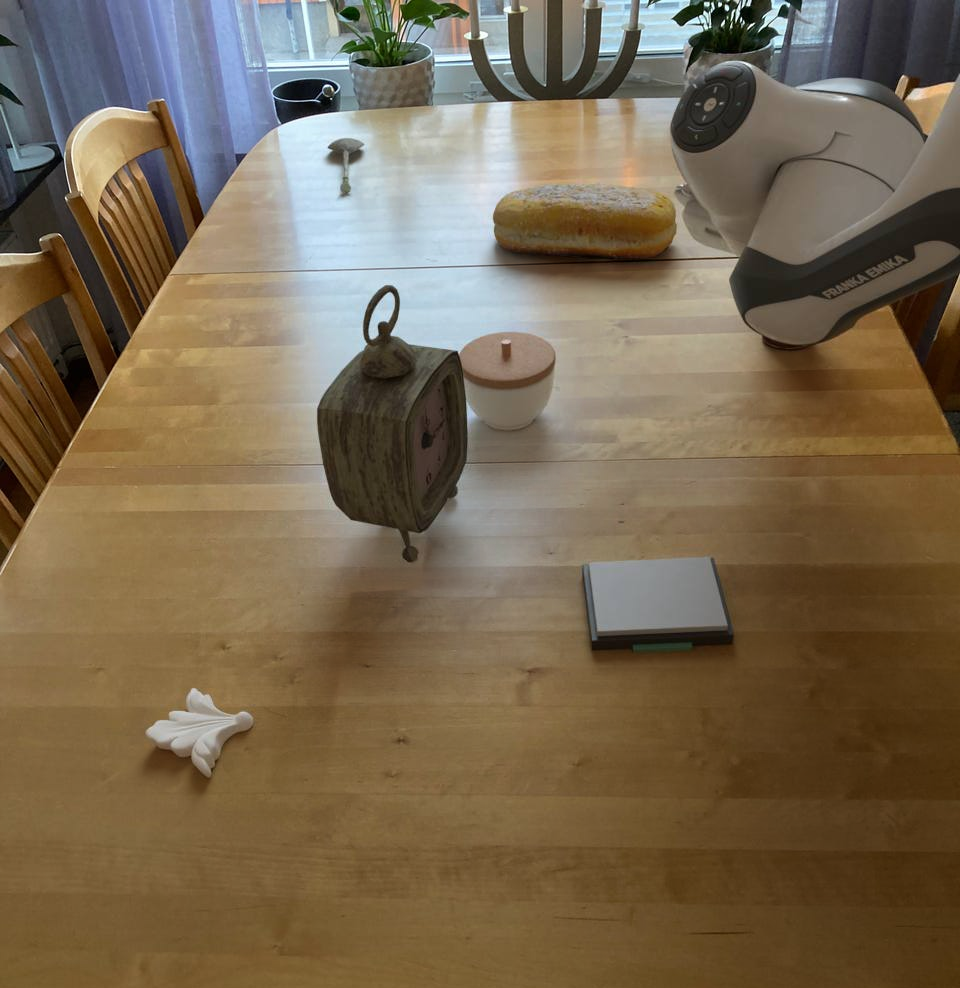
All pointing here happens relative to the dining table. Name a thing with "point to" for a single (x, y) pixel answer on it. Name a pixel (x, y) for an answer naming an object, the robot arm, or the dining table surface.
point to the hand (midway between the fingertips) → (805, 273)
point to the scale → (655, 605)
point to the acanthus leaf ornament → (198, 731)
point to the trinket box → (508, 378)
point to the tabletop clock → (394, 431)
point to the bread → (586, 221)
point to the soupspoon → (345, 156)
